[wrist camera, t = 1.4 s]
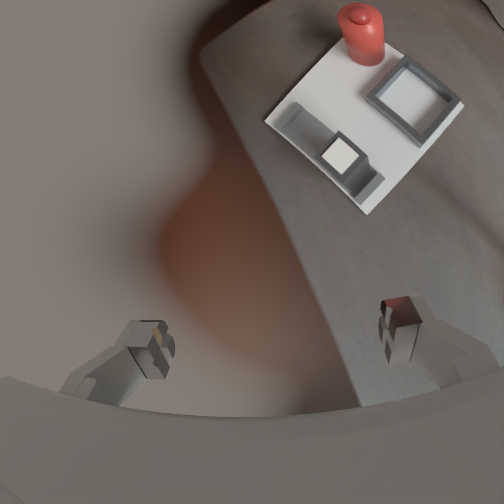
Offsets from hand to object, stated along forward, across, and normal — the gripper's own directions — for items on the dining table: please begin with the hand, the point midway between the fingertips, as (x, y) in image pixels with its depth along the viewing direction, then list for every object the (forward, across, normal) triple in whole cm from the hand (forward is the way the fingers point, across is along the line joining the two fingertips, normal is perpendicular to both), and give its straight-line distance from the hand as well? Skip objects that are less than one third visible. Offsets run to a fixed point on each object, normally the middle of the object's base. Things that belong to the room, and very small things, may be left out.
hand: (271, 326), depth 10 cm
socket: (+26, -18, -8) cm, 33 cm away
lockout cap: (+30, -14, -15) cm, 37 cm away
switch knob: (+26, -9, +1) cm, 27 cm away
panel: (+29, -12, -6) cm, 32 cm away
